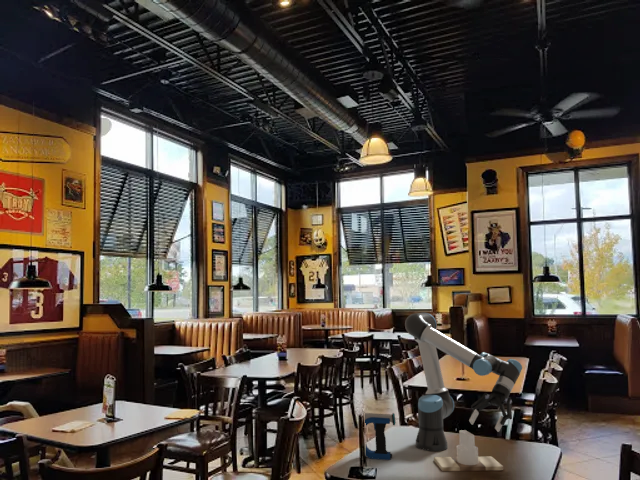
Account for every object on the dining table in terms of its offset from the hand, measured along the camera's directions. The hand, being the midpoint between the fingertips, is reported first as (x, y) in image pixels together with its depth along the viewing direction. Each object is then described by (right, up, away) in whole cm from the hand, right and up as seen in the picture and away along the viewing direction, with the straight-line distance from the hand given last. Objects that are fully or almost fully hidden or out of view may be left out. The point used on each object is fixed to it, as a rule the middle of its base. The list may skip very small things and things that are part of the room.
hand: (483, 426), depth 223 cm
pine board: (-9, -14, -7) cm, 18 cm away
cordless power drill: (-47, -16, +3) cm, 50 cm away
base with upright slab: (-9, -13, -7) cm, 17 cm away
